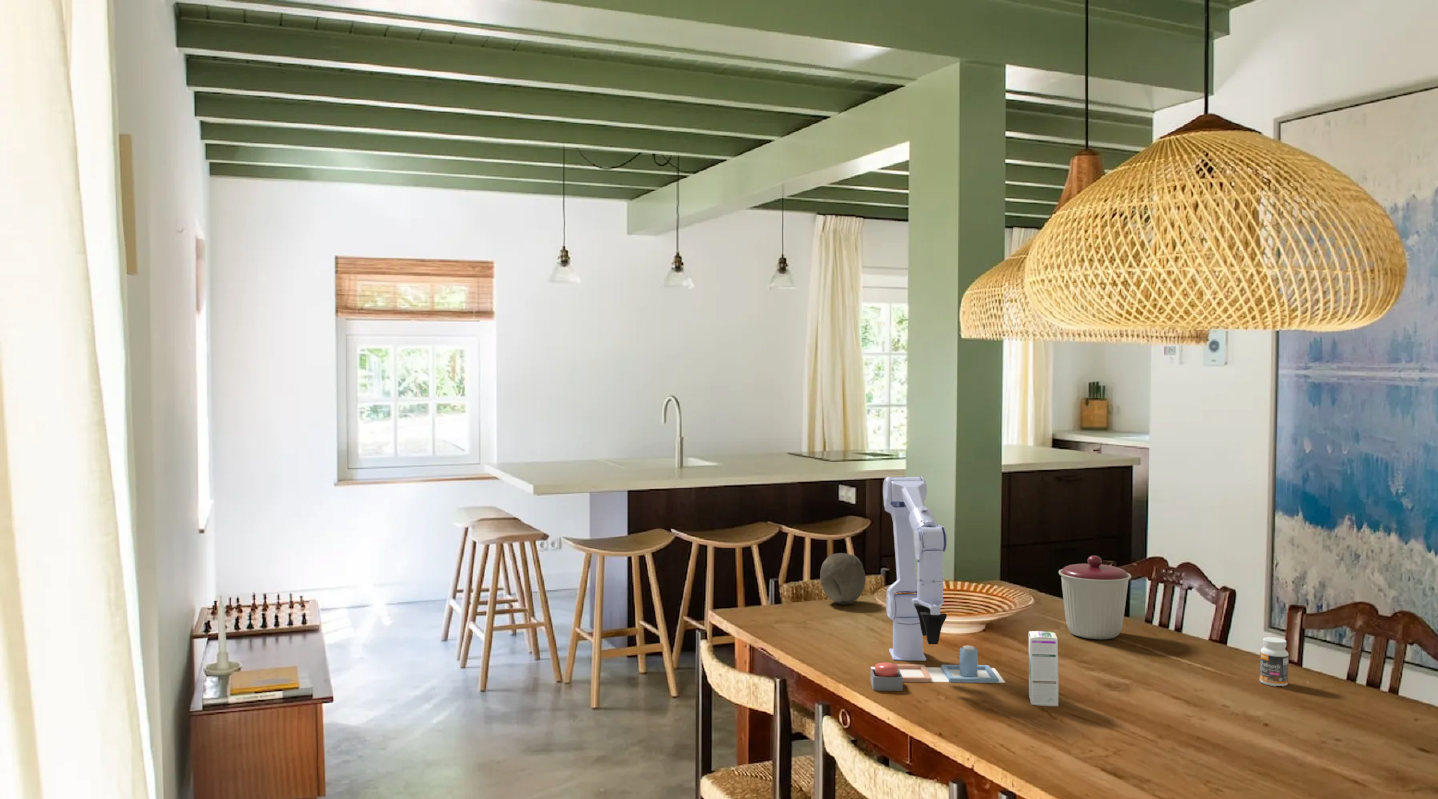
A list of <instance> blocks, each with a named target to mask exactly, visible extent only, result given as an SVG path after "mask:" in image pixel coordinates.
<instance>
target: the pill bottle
mask: <svg viewBox="0 0 1438 799" xmlns="http://www.w3.org/2000/svg"><path fill="white" fill-rule="evenodd" d="M1262 644H1263V647H1261V649H1260V654H1259V660H1260V661H1259V682H1260V683H1262V684H1263V685H1266V686H1270V687H1276V686H1282V687H1286V686H1288V683H1289V660H1290V659H1289V657H1290V656H1289V652H1288V651H1287V650H1286V648H1287V646H1288V645H1287V640H1286V639H1284V638H1279V637H1274V636H1273V637H1272V636H1266V637H1263V639H1262Z"/></svg>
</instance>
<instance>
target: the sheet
mask: <svg viewBox="0 0 1438 799" xmlns="http://www.w3.org/2000/svg"><path fill="white" fill-rule="evenodd" d="M925 667H926V669H927V671H928V673H929V675H930V676H931V682H930V683H950V682H949V681H948V679H947V677H946V675H945V674H944V672H943V670H942V669H941V666H940V667H935V666H934V667H933V666H932V667H927V666H925ZM990 668H991V669H992V671H993V672H994V673H995V675H996V676H997V677H998V679H999V682H977V683H982V684H983V683H985V684H988V683H990V684H991V683H992V684H995V683H996V684H1003V683H1006V681H1005V680H1004V678H1003V677H1002V676H1001V675H1000V673H999V672H998V670H997V669H996V668H995V667H990ZM871 669H875V666H870V670H871ZM899 670H900V673H901V675H902V677H924V675H923V673H922V671H921V669H899ZM948 670H949V671H950V673H951V675H952V676H953V677H962V676H960V669H948ZM977 677H982V678H991V677H990V676H989V675H988V673H987V672H986V670H978V676H977Z"/></svg>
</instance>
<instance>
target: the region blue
mask: <svg viewBox="0 0 1438 799" xmlns="http://www.w3.org/2000/svg"><path fill="white" fill-rule="evenodd" d="M940 668H941V669H942V670H943V672H944V674H945V675H946V677H947V679H948V681H949V682H948V683H978V682H999V679H998V677H997V676H996V675H995V673H994V672H993V671H992V669H991V668H992V667H990V665H989V664H988V665H987V664H983V665H982V664H978V670H986V672H987V673H988V675H989V676H990V677H991V678H982V677H953V676H952V675H951V673H950V671H949V670H948V669H960V664H941V666H940Z"/></svg>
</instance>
